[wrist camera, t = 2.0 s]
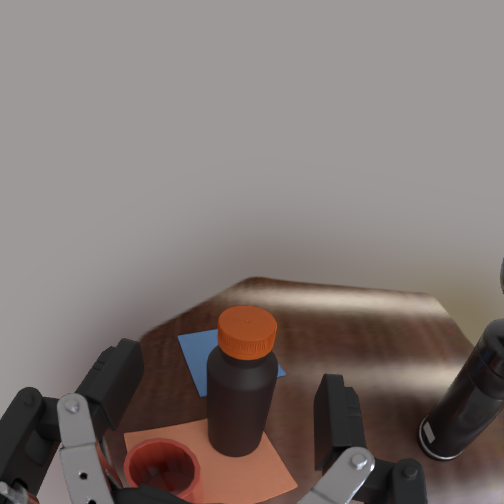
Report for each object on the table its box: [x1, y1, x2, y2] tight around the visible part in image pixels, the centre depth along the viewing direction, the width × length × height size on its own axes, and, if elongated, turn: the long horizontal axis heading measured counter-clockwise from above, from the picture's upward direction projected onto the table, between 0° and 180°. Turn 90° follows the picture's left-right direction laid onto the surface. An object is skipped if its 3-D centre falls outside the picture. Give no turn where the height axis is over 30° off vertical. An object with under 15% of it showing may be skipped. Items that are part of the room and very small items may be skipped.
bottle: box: [206, 305, 278, 457], centre depth 28 cm, size 7×7×20 cm
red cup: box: [123, 438, 204, 504], centre depth 22 cm, size 7×7×9 cm
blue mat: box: [178, 329, 286, 397], centre depth 47 cm, size 14×14×1 cm
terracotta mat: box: [124, 419, 298, 504], centre depth 28 cm, size 18×14×1 cm
